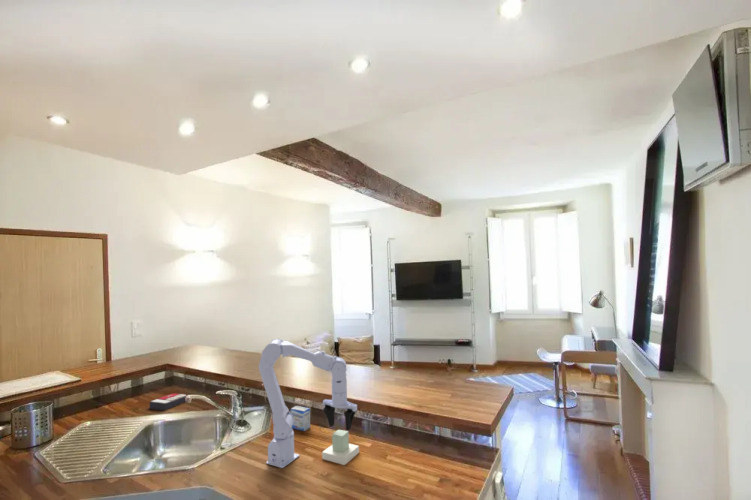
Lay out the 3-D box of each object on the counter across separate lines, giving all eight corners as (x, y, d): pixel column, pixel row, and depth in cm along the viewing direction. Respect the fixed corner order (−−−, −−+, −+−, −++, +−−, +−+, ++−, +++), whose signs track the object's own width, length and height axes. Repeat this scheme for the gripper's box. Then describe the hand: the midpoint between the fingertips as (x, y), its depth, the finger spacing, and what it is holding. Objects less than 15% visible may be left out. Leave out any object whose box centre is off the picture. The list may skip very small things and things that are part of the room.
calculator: (188, 394, 203) (165, 402, 189) (188, 402, 203) (164, 411, 189) (173, 392, 207) (149, 400, 193) (173, 400, 206) (148, 409, 192)
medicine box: (290, 428, 163) (290, 408, 164) (296, 424, 167) (296, 405, 168) (304, 431, 159) (303, 411, 160) (310, 427, 163) (310, 407, 164)
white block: (344, 466, 131) (344, 457, 131) (322, 460, 136) (322, 452, 136) (359, 453, 140) (358, 445, 140) (337, 448, 145) (337, 440, 145)
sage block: (342, 452, 135) (342, 436, 135) (332, 450, 137) (332, 434, 137) (348, 447, 139) (348, 431, 139) (338, 445, 141) (338, 429, 141)
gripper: (360, 390, 139) (361, 426, 139) (329, 385, 146) (330, 420, 145) (351, 396, 133) (352, 434, 132) (319, 391, 140) (319, 427, 139)
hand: (340, 427), depth 138 cm, fingers open, 7 cm apart
